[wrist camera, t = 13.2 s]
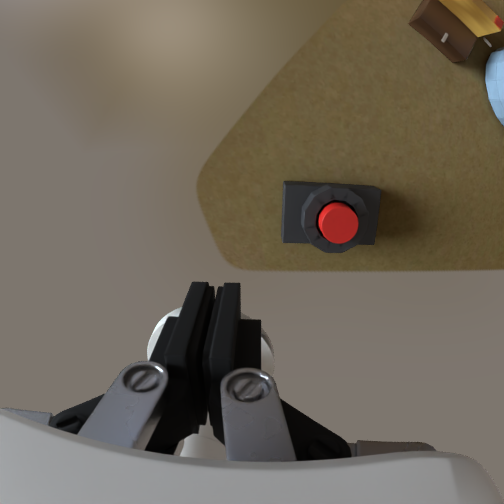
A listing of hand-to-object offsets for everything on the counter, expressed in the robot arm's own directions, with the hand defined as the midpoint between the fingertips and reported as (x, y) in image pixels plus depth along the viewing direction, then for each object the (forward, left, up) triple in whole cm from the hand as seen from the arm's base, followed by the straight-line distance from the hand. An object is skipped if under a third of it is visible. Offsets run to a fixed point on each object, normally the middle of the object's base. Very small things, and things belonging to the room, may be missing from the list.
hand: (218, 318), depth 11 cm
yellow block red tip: (+32, -9, -20) cm, 39 cm away
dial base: (+32, -8, -23) cm, 40 cm away
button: (+3, -9, -20) cm, 22 cm away
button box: (+3, -9, -23) cm, 25 cm away
